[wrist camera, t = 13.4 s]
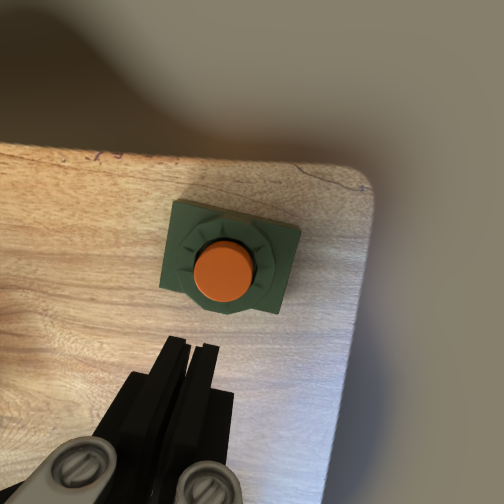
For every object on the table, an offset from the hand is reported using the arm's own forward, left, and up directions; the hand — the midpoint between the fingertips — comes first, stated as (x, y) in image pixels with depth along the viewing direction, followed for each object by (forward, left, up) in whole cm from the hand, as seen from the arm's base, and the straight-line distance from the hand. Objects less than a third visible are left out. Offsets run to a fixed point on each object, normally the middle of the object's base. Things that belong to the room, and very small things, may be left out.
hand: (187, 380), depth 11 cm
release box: (0, 0, -15) cm, 15 cm away
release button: (0, 0, -12) cm, 12 cm away
